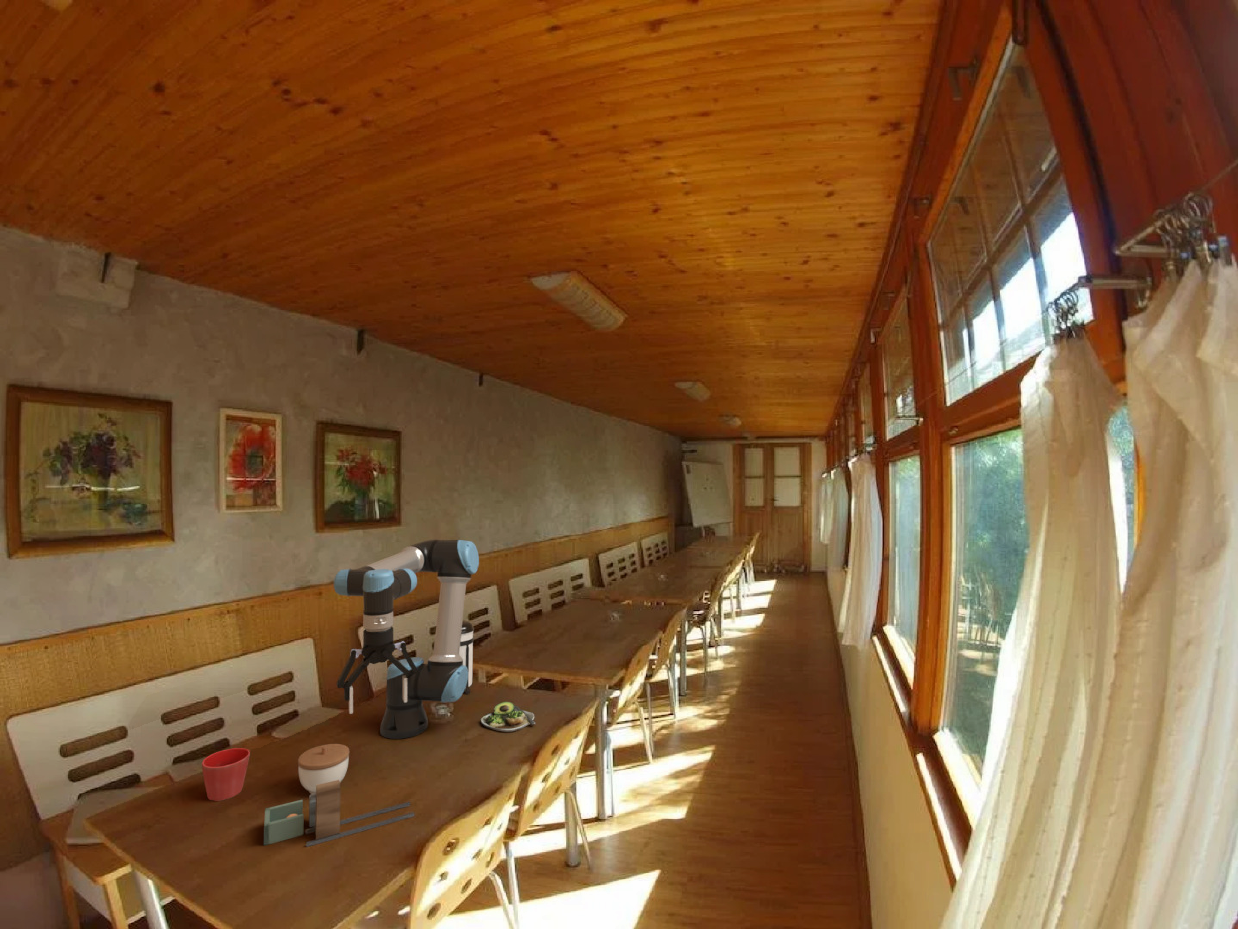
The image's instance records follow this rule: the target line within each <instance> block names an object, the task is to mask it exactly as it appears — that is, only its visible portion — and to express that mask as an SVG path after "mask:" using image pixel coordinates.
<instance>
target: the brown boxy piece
mask: <svg viewBox="0 0 1238 929" xmlns="http://www.w3.org/2000/svg"><path fill="white" fill-rule="evenodd" d="M341 790H342V789H341V782H340V781H339V780H336V781H332V782H328V783H323V784H319V785H316V793H312V794H311V793H310V795H309V797H308V799H309V800H308V806H309V807H308V823H309V825H308V826H309V828H313V827H315V832H314V833H315V840H316V839H319V838H323V837H326V836H330V835H333V834H337V833H341V829H340V828H341V825H340V820H341V794H342V792H341Z"/></svg>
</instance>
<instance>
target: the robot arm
mask: <svg viewBox="0 0 1238 929" xmlns="http://www.w3.org/2000/svg"><path fill="white" fill-rule="evenodd" d="M479 565H480V557H479V551H478V548H477V546H476V544H475V543H474V542H473V541H471V540H464V539H430V540H429V539H428V540H423V541H421V542H417V543H414V544H412V545H411V544H410V545H407V546H406V547H404V548H401V550H400V551H399V552H398V553H396V554H393V555H391V556H387V557H385V558H382V559H380V560H377V561H374V562H372V563H369V564H366V565H365V566H361V567H359V568H355V569H354V568H353V569H352V568H347V569H340V570H339V571H338V572H337V573H336V574H335V576H334V579H333V589H334V591H335V593H336V594H337V595H340V596H347V597H363V599H362V600H363V602H362V603H363V615H362V616H363V617H362V618H363V620H362V622H363V624H362V627H363V629H364V630H363V632H362V634H363V636H362V640H363V643H362V647H361V649H359V648H358V649H357V648H354V647H353V648H351V649H350V652H349V657H348V659H347V661H346V662H345V665H344V667H343V669H342V671H341V673H340V675H339V677H338V679H337V681H336V687H337V688H338V689H343V690H344V691H343V692H344V693H343V697H344V701H345V702H348V713H349V715H350V714H351V715H352V714H354V688H353V684H354V683H355V682H356V680H357V679H358V678H359V677H360V676H361V675H362V673H363V672H364V671H365V669H366V668H368V666H369V665H370V664H372V665H376V664H378V663H381V664H382V663H386V661H389V662H390V663H391V664H389V666H388V667H387V671H386V678H385V680H386V704H385V705H386V707H385V708H386V709H385V712H384V715H383V717H382V721H381V723H380V726H379V727H380V728H379V729H380V730H379V732H380V733H379V734H380V735H381V736H382V737H383V738H386V739H393V740H399V739H402V740H403V739H407V738H412V737H415V736H418V735H421V734H422V733H424V732H425V731H426V730H427V729H428V725H429V724H428V722H429V721H428V716H427V713H426V710H425V706H424V704H423V703H424V702H423V701H425V702H426V701H427V702H439V703H440V702H441V703H443V704H444V703H454V702H457V701H458V700H460V698H461V697H462V695H463V693H465V692H464V690H465V687H466V684H467V680H468V669H467V667H466V666H464V665H463V659H462V658H461V656H460V655H459V651H460V641H461V631H462V621H463V620H464V610H465V598H466V591H467V590H466V588H467V584H468V582H470V581H471V580H472V575H474V574H476V573H477V572H478V569H479ZM416 573H437V574H436V575H437V576H436V578H437V579H438V580H439V582H440V590H439V600H438V607H437V615H436V616H437V619H436V624H435V636H434V645H433V652H432V655H431V656H430V657H429V658H428V659H427V663H424V662H425V661H424V658H423V657H421V656H420V657H419V656H417V657H416V656H415V657H411V656H410V654H409V652H408V650H407V646H406V645H407V644H406V642H405V641H404V640H400V641H399V642H396V643H395V642H394V627H393V625H394V601H395V600H398V599H400V598H401V597H404V596H405V597H406V596H407V595H409V594H410V593H412V592H413V591H414V590H415V589H416V587H417V586H418V577H417V575H416ZM396 649H397V650H398V651H399V652H401V653H402V655H403V657H404V658H403V659H400V660H399V659H397V658H396V656H395V655H393V653H394V651H395V650H396ZM360 655H362V656H363V658H362V660H361V662H360V663H359V664H358V665H357V667H355V669H354V670H353V672H352V673H351V674H350V672H351V669H352V667H353V666H354V664H355V662H356V659H358V658H359V656H360ZM349 674H350V675H349ZM348 676H349V677H348Z"/></svg>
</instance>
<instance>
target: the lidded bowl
mask: <svg viewBox="0 0 1238 929" xmlns="http://www.w3.org/2000/svg"><path fill="white" fill-rule="evenodd" d="M349 757H350V748H349V747H348V746H347V745H345V744H340V743H328V744H322V745H317V746H315V747H312V748H310V749H308V750H306V751H304V752H303V753H301V755H299V757H298V760H297V765H298V777H299V778H298V779H299V782H300V784H301V786H302V787H303V788H304V789H305V790H306V791H308V792H309V794H310V795H311V794H312V793H316V785H319V784H323V783H328V782H332V781H336V780H339V781H340V783H341V782H342V781H343V779H344V778H345V776H346V775H347V772H348V771H347V770H348V767H349V760H350V759H349Z"/></svg>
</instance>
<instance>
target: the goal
mask: <svg viewBox="0 0 1238 929" xmlns="http://www.w3.org/2000/svg"><path fill="white" fill-rule="evenodd" d="M303 800H304V799H299V800H295V801H292V802H287V803H283V804H280V805H275V806H271V807H266V808H265V809H264V821H263V822H264V825H263V826H264V827H263V847H264V846H267V845H270V844H272V845H273V844H275V843H279V842H282V841H286V840H289V839H293V838H297V837H300V836H304V816H305V815H304V813H303V810H304V809H303V806H304V805H303V804H304V803H303V802H304V801H303ZM290 814H297V815H296V816H293V817H289V818H286V817H287V816H289V815H290Z"/></svg>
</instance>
